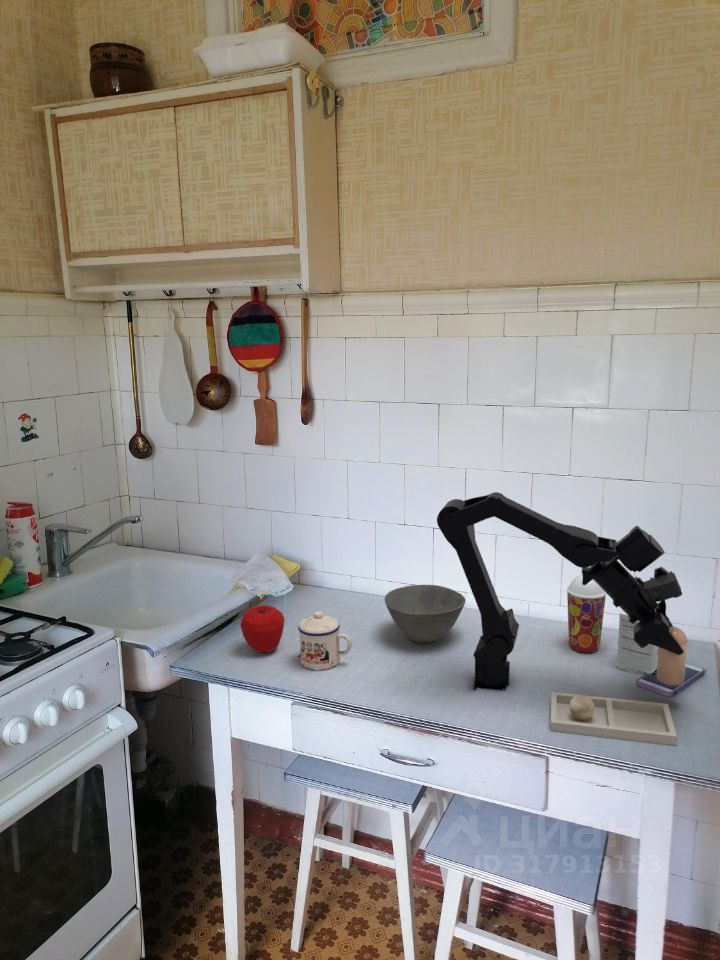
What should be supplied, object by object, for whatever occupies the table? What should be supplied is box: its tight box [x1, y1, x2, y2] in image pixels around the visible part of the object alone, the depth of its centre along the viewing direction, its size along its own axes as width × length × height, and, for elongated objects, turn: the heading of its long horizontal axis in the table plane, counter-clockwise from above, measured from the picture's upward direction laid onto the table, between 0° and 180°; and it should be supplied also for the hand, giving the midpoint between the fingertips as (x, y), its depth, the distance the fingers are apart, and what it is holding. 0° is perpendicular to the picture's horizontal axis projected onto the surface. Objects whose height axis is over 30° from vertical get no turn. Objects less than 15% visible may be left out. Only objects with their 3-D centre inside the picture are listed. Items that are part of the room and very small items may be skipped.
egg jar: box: [656, 626, 688, 686], centre depth 135 cm, size 5×5×10 cm
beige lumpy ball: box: [570, 694, 594, 720], centre depth 133 cm, size 4×4×4 cm
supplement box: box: [616, 610, 658, 675], centre depth 152 cm, size 7×7×13 cm
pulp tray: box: [549, 691, 678, 746], centre depth 132 cm, size 21×11×2 cm, turn 75°
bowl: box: [384, 584, 466, 644], centre depth 169 cm, size 19×19×10 cm
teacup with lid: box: [297, 611, 353, 670], centre depth 158 cm, size 12×9×12 cm
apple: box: [240, 604, 285, 653], centre depth 165 cm, size 10×10×11 cm
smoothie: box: [566, 567, 607, 654], centre depth 160 cm, size 8×8×20 cm
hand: (680, 647), depth 134 cm, fingers closed on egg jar, 5 cm apart
